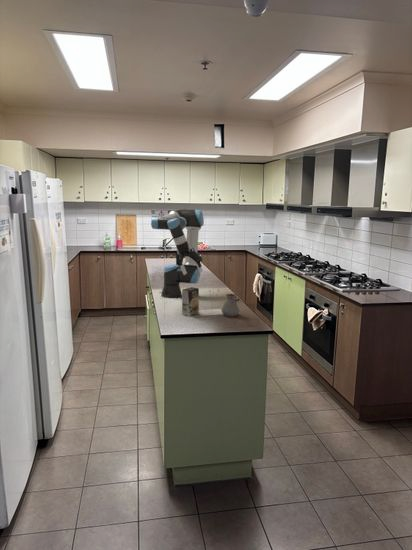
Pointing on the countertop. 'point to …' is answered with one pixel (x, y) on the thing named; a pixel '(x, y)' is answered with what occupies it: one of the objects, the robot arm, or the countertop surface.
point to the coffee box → (190, 301)
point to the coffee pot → (231, 306)
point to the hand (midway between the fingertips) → (193, 273)
